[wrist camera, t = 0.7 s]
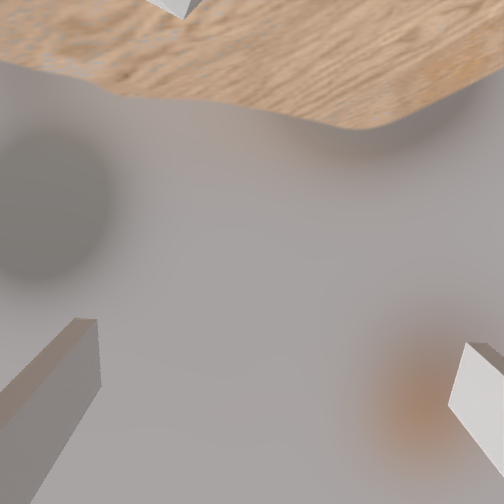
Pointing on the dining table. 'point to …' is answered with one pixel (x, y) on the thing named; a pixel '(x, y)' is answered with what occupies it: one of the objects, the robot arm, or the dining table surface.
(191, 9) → the die
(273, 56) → the dining table surface
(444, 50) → the dining table surface
